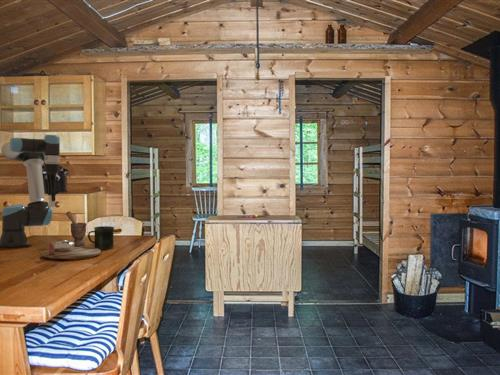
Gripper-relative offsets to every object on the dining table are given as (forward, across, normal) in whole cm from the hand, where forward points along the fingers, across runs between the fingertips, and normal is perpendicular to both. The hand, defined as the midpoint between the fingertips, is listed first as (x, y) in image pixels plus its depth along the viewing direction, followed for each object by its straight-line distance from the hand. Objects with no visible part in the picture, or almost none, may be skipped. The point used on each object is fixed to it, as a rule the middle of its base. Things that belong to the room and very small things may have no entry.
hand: (51, 207), depth 242 cm
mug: (+25, +12, +23) cm, 36 cm away
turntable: (+24, +18, 0) cm, 30 cm away
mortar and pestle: (+25, -7, +20) cm, 32 cm away
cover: (+22, +11, 0) cm, 25 cm away
